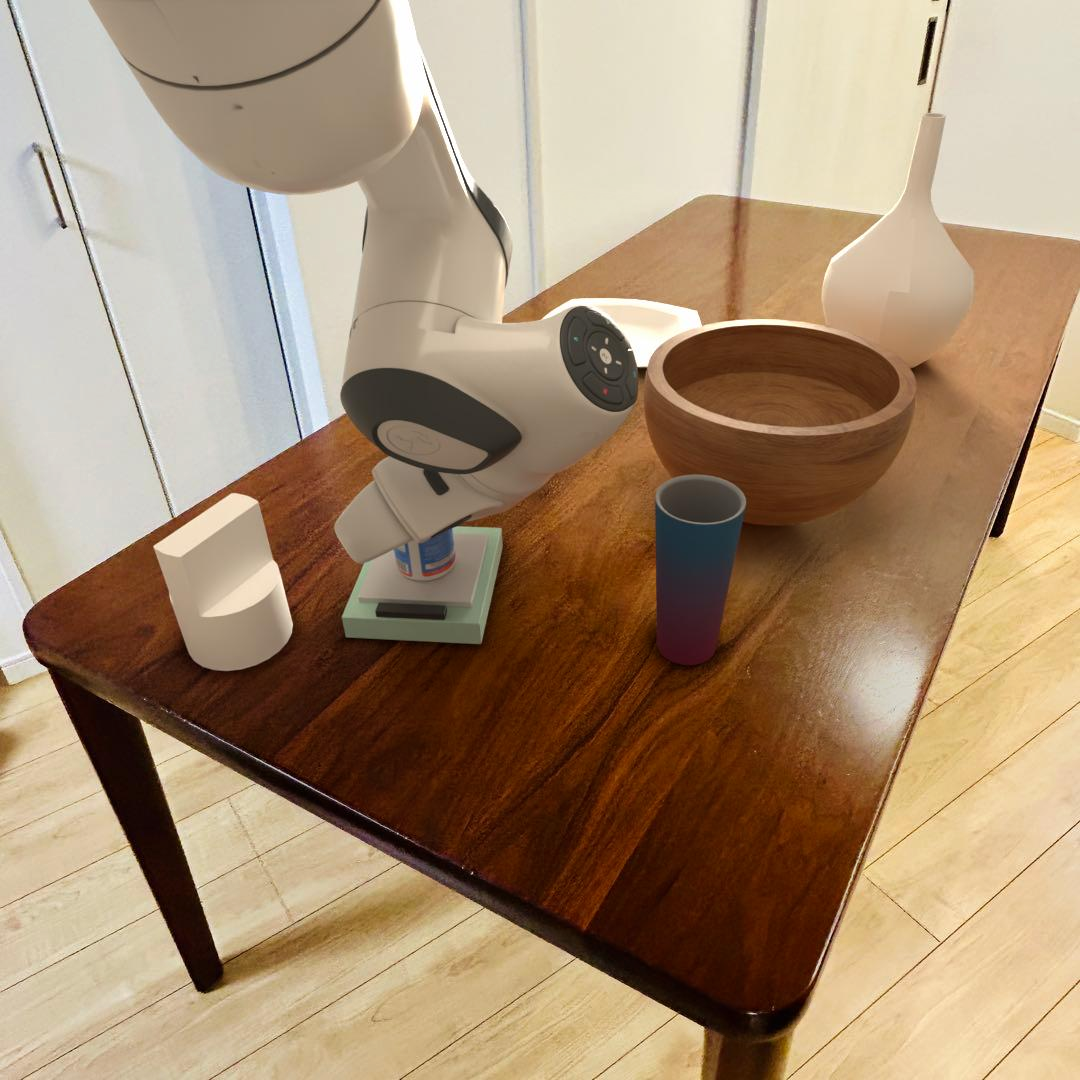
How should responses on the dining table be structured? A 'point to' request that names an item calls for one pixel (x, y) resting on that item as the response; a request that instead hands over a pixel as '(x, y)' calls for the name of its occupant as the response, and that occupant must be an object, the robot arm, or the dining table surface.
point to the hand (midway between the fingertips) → (414, 513)
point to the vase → (903, 269)
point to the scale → (428, 595)
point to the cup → (694, 562)
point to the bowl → (779, 413)
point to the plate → (641, 321)
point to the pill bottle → (427, 557)
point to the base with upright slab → (226, 586)
